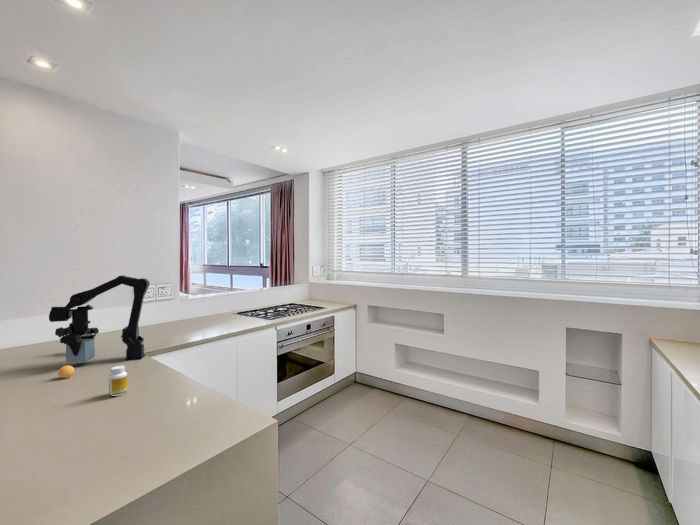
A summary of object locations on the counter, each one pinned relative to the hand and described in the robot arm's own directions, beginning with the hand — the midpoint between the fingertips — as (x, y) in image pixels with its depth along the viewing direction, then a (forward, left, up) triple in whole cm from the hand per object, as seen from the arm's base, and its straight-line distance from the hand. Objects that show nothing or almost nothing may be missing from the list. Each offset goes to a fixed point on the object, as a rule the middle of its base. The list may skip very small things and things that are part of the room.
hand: (80, 353), depth 146 cm
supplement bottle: (-33, +42, -6) cm, 54 cm away
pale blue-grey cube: (0, 0, -3) cm, 3 cm away
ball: (-4, +18, -3) cm, 19 cm away
